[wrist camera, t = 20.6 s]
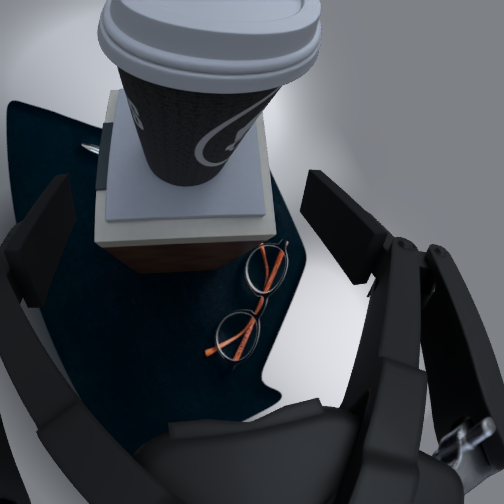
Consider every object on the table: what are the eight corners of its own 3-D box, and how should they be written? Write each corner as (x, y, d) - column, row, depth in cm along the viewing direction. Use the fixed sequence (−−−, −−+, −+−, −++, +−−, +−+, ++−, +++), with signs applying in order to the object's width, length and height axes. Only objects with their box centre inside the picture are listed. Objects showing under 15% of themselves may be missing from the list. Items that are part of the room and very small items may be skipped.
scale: (101, 247, 22) (91, 240, 19) (113, 104, 23) (109, 84, 20) (267, 240, 25) (280, 232, 22) (253, 105, 27) (262, 86, 24)
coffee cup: (213, 88, 23) (261, -58, 9) (268, 175, 23) (383, 44, 9) (109, 127, 20) (77, -33, 6) (156, 229, 20) (135, 90, 6)
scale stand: (138, 273, 48) (101, 247, 22) (137, 196, 50) (113, 104, 23) (217, 269, 52) (267, 240, 25) (212, 194, 54) (253, 105, 27)
